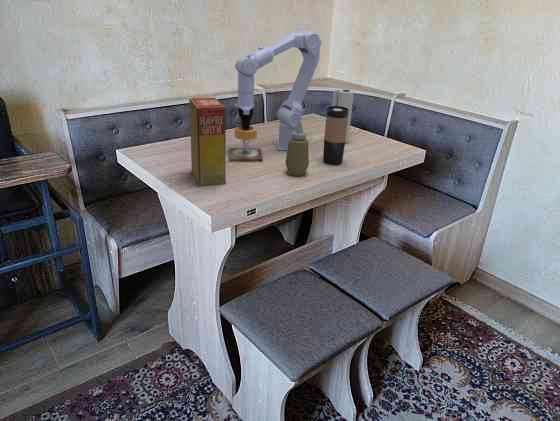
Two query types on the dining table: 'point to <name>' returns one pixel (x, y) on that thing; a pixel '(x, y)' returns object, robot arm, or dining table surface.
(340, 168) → the dining table surface
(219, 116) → the food packaging
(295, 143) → the squeeze bottle
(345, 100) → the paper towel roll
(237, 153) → the walnut base plate
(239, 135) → the wooden ring
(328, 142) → the travel mug
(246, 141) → the steel shaft
